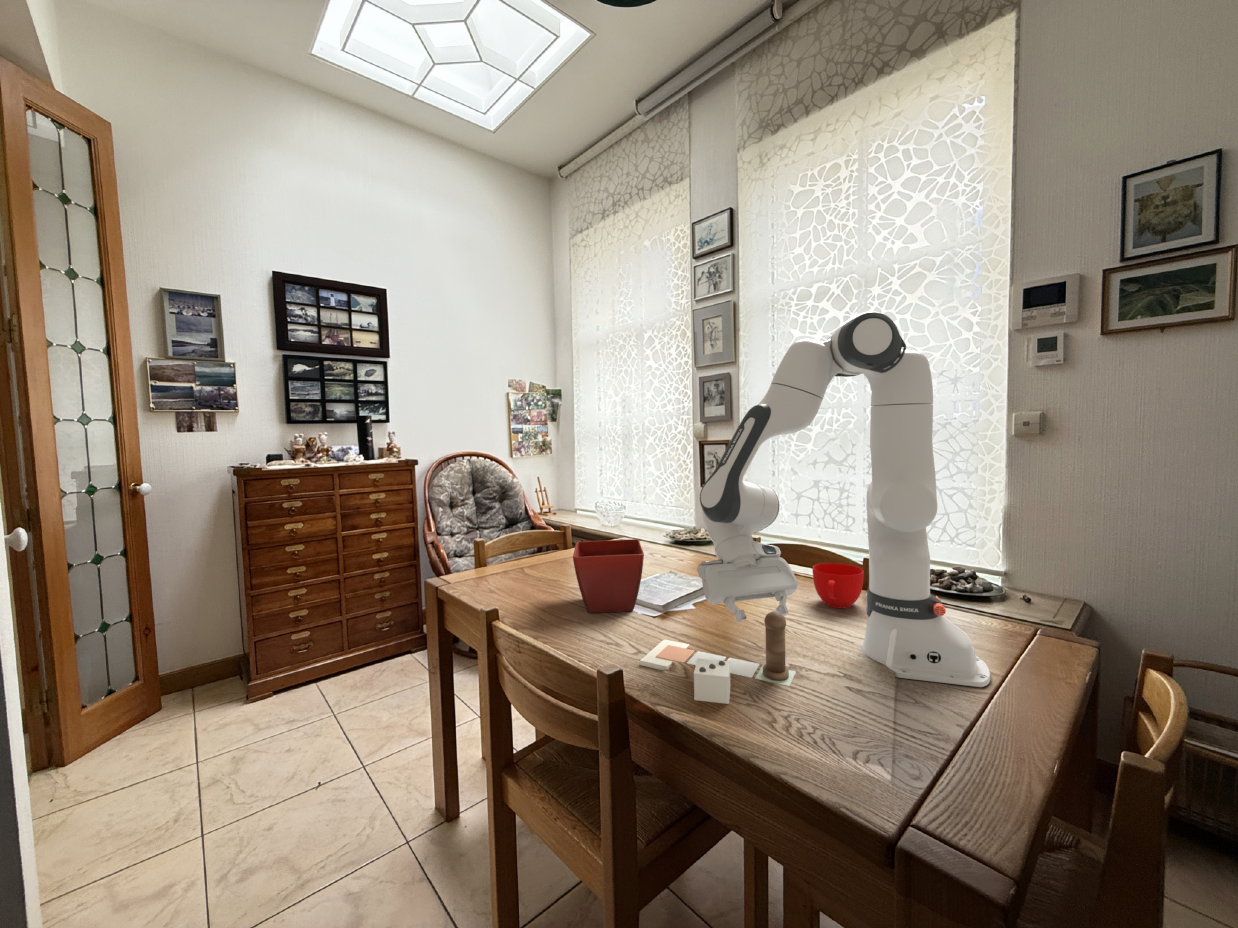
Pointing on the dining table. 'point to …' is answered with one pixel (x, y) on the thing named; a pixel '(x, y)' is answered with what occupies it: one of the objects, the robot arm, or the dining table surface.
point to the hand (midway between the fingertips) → (763, 617)
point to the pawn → (775, 647)
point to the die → (712, 681)
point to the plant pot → (609, 574)
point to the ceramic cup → (838, 583)
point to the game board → (678, 652)
